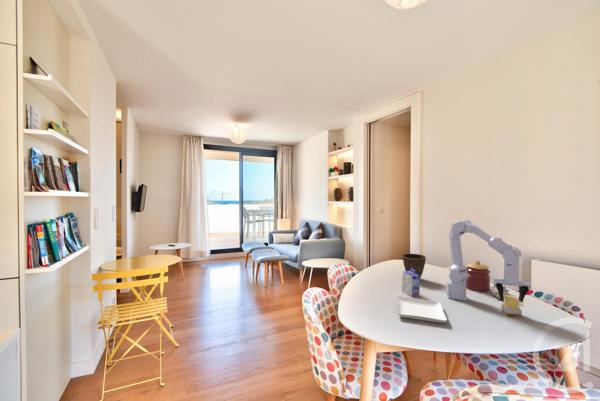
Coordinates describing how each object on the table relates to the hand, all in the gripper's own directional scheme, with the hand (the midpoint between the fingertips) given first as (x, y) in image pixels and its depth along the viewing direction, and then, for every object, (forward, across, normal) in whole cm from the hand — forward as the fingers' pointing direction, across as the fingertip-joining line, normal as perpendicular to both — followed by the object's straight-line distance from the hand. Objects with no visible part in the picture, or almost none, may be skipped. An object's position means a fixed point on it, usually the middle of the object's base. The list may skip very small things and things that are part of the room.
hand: (511, 300), depth 126 cm
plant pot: (+7, -43, +39) cm, 58 cm away
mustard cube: (+3, 0, 0) cm, 3 cm away
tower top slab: (+5, 0, 0) cm, 5 cm away
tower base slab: (+8, 0, 0) cm, 8 cm away
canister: (+7, -7, +34) cm, 35 cm away
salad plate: (+8, -41, -15) cm, 44 cm away
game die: (+7, +1, +21) cm, 22 cm away
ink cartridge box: (+7, -45, +10) cm, 47 cm away
